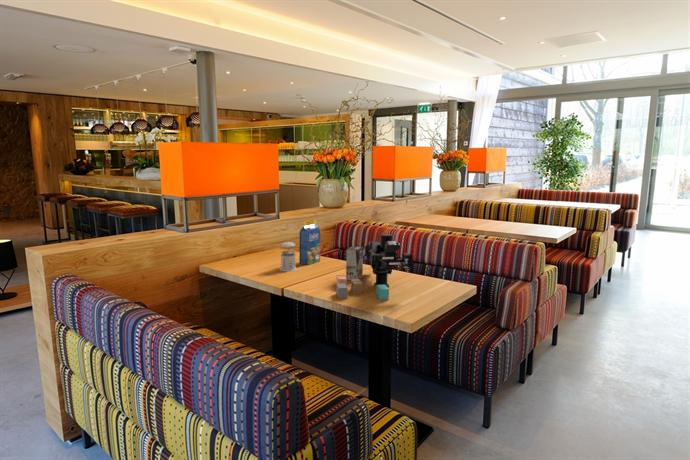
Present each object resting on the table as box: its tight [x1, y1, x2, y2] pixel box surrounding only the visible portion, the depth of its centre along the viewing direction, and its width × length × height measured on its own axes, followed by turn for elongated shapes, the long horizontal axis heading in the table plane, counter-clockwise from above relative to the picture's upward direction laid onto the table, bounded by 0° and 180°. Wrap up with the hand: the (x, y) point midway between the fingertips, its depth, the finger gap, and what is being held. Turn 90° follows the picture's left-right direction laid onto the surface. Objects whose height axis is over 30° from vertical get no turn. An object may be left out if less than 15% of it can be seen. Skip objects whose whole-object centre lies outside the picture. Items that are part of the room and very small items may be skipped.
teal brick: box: [376, 285, 390, 301], centre depth 204 cm, size 7×4×5 cm, turn 9°
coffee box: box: [345, 245, 364, 281], centre depth 233 cm, size 9×6×16 cm
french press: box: [279, 224, 298, 272], centre depth 248 cm, size 10×12×25 cm
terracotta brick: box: [335, 274, 348, 287], centre depth 219 cm, size 7×4×5 cm, turn 9°
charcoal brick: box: [335, 283, 349, 300], centre depth 205 cm, size 7×4×5 cm, turn 9°
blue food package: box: [299, 219, 321, 266], centre depth 264 cm, size 6×12×25 cm, turn 146°
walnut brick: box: [350, 278, 363, 295], centre depth 212 cm, size 7×4×5 cm, turn 9°
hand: (396, 265), depth 195 cm, fingers open, 9 cm apart
